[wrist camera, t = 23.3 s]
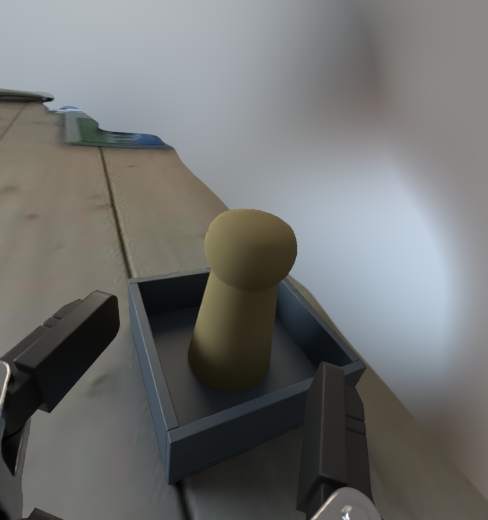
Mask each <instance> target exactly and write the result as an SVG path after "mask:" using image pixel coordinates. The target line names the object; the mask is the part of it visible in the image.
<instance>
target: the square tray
mask: <svg viewBox="0 0 488 520" xmlns="http://www.w3.org/2000/svg"><path fill="white" fill-rule="evenodd" d="M210 272H211V268H205V269H198V270H191V271H183V272H176V273H169V274H162V275H155V276H147V277H140V278H133V279H128V294H129V310H130V323H131V327H132V331H133V336H134V340H135V344H136V349H137V353H138V357H139V362H140V366H141V370H142V375H143V379H144V383H145V388H146V392H147V396H148V401H149V405H150V409H151V414H152V418H153V423H154V427H155V431H156V436H157V440H158V444H159V449H160V453H161V457H162V462H163V466H164V470H165V475H166V479H167V483H168V485H171V484H173V483H175V482H177V481H179V480H182V479H184V478H186V477H188V476H190V475H193V474H195V473H197V472H199V471H201V470H204V469H206V468H208V467H210V466H212V465H215V464H217V463H219V462H221V461H224V460H226V459H228V458H230V457H232V456H235V455H237V454H239V453H241V452H243V451H246V450H248V449H250V448H252V447H254V446H257V445H259V444H261V443H263V442H265V441H268V440H270V439H272V438H274V437H276V436H279V435H281V434H283V433H285V432H288V431H290V430H292V429H294V428H296V427H299V426H301V425H303V424H304V417H305V406H306V399H307V394H308V390H309V387H310V385H311V383H312V381H313V378H314V376H315V374H316V372H317V370H318V367H319V365H320V363H321V362H322V361H323V362H326V363H329V364H333V365H336V366H339V367H342V368H343V369H344V375H345V385H346V386H350V387H353V388H354V387H355V386H356V384H357V382H358V381H359V379H360V377H361V376H362V374H363V372H364V371H365V369H366V366H365V365H364V363H363V362H362V361H361V360H360V359H359V358H358V357H357V356H356V354H355V353H354V352H353V351H352V350H351V349H350V348H349V347H348V346H347V345H346V343H345V342H344V341H343V340H342V339H341V338H340V337H339V336H338V335H337V333H336V332H335V331H334V330H333V329H332V328H331V327H330V326H329V325H328V324H327V322H326V321H325V320H324V319H323V318H322V317H321V316H320V315H319V314H318V313H317V311H316V310H315V309H314V308H313V307H312V306H311V305H310V304H309V303H308V301H307V300H306V299H305V298H304V297H303V296H302V295H301V294H300V293H299V292H298V290H297V289H296V288H295V287H294V286H293V285H292V284H291V283H290V282H289V280H288V279H287V278H285V279H283V280H282V281H280V282H279V287H278V296H277V305H276V313H275V322H274V331H273V339H272V348H271V357H270V366H269V369H268V371H267V374H266V376H265V378H264V379H263V380H262V381H261V382H260V383H259V384H258V385H257V386H255V387H252V388H250V389H248V390H246V391H241V392H232V393H230V392H224V391H218V390H215V389H213V388H211V387H209V386H207V385H205V384H203V383H202V382H201V381H200V380H199V379H198V378H197V377H196V376H195V375H194V374H193V372H192V370H191V368H190V366H189V364H188V349H189V346H190V342H191V339H192V335H193V332H194V328H195V324H196V321H197V317H198V314H199V310H200V307H201V303H202V300H203V296H204V293H205V289H206V286H207V282H208V279H209V275H210Z"/></svg>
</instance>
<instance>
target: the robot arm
mask: <svg viewBox="0 0 488 520" xmlns="http://www.w3.org/2000/svg"><path fill="white" fill-rule="evenodd" d="M119 327H120V320H119V309H118V299H117V297H116V296H115V295H111V294H108V293H105V292H102V291H99V290H96V291H94V292H92V293H91V294H90V295H89V296H87V297H86V298H85V299H84V300H81V299H78V300H76V301H74V302H71V303H69V304H67V305H65V306H63V307H62V308H61V309H60V310H59V311H57V312H56V313H55V314H54V315H53V316H52V318H51V317H50V318H49V319H48V320H46V321H45V322H44V323H43V325H42V326H41V325H40V326H39V327H38V328H37V329H35V330H34V331H33V332H32V333H31V334H29V335H28V336H27V337H26V338H24V339H23V340H22V341H21V342H20V343H18V344H17V345H16V346H15V347H13V348H12V349H11V350H10V351H9V352H7V353H6V354H5V355H4V356H2V357H1V358H0V520H63V519H60V518H58V517H56V516H53V515H51V514H49V513H46V512H44V511H42V510H40V509H37V508H35V509H34V510H33V512H32V513H31V514H30V516H29V517H28V518H22V510H23V494H22V474H23V467H24V461H25V455H26V449H27V442H28V436H29V430H30V423H31V418H30V417H31V416H32V415H33V414H34V412H35V411H36V410H37V409H40V410H42V411H45V412H47V413H50V412H51V411H52V410H53V409H54V408H55V407H56V406H57V404H58V403H59V402H60V401H61V400H62V399H63V397H64V396H65V395H66V394H67V393H68V392H69V390H70V389H71V388H72V387H73V386H74V385H75V384H76V382H77V381H78V380H79V379H80V378H81V377H82V375H83V374H84V373H85V372H86V371H87V370H88V368H89V367H90V366H91V365H92V364H93V363H94V362H95V360H96V359H97V358H98V357H99V356H100V355H101V353H102V352H103V351H104V350H105V349H106V348H107V346H108V345H109V344H110V343H111V342H112V341H113V339H114V338H115V337H116V335H117V333H118V330H119ZM364 421H365V418H364V407H363V403H362V401H361V398H360V396H359V394H358V392H357V390H356V388H353V387H350V386H346V385H345V375H344V369H343V368H342V367H339V366H336V365H333V364H329V363H326V362H323V361H322V362H321V363H320V365H319V367H318V370H317V372H316V374H315V376H314V378H313V381H312V383H311V385H310V387H309V390H308V394H307V399H306V406H305V417H304V428H303V439H302V451H301V462H300V473H299V484H298V495H297V507H296V509H297V510H299V511H302V512H304V513H306V520H383V519H382V517H381V515H380V514H379V512H378V510H377V508H376V506H375V503H374V501H373V497H372V493H371V485H370V474H369V463H368V452H367V440H366V437H365V435H366V429H365V423H364Z"/></svg>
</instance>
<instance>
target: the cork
mask: <svg viewBox="0 0 488 520" xmlns="http://www.w3.org/2000/svg"><path fill="white" fill-rule="evenodd" d="M204 249H205V255H206V259H207V264H208V265H209V267H210V268H211V272H210V275H209V279H208V282H207V286H206V289H205V293H204V296H203V300H202V303H201V307H200V310H199V314H198V317H197V321H196V324H195V328H194V332H193V335H192V339H191V342H190V346H189V349H188V364H189V366H190V368H191V370H192V372H193V374H194V375H195V376H196V377H197V378H198V379H199V380H200V381H201V382H202V383H203V384H205V385H207V386H209V387H211V388H213V389H215V390H218V391H224V392H230V393H232V392H241V391H246V390H248V389H250V388H252V387H255V386H257V385H258V384H259V383H260V382H261V381H262V380H263V379H264V378H265V376H266V374H267V371H268V369H269V366H270V357H271V348H272V339H273V331H274V322H275V313H276V305H277V296H278V287H279V282H280V281H282V280H283V279H285V278H286V276H287V275H288V273H289V272H290V270H291V268H292V267H293V264H294V262H295V259H296V256H297V242H296V237H295V235H294V232H293V230H292V229H291V227H290V226H289V225H288V224H287V223H285V222H284V221H283V220H281V219H280V218H279V217H277V216H275V215H272V214H270V213H267V212H264V211H260V210H254V209H234V210H230V211H227V212H224V213H221V214H220V215H219V216H217V217H216V218H215V219H214V220H213V222H212V223H211V224H210V227H209V229H208V232H207V234H206V237H205V243H204Z"/></svg>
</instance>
